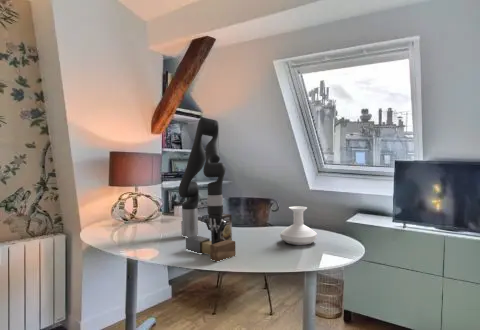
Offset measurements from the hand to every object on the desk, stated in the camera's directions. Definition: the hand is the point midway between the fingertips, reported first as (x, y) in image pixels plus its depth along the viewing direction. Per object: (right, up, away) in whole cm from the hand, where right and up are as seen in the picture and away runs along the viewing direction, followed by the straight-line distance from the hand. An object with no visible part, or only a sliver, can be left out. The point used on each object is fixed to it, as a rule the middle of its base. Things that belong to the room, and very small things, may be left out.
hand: (215, 239), depth 163 cm
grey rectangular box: (-10, -8, +9) cm, 15 cm away
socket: (+3, -8, -2) cm, 9 cm away
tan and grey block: (-3, -7, +2) cm, 8 cm away
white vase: (+44, -7, +23) cm, 50 cm away
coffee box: (+2, -8, +22) cm, 24 cm away
